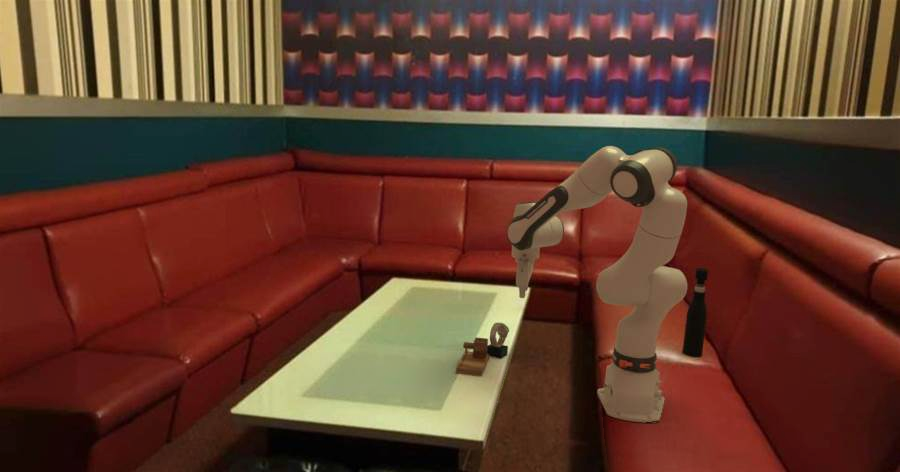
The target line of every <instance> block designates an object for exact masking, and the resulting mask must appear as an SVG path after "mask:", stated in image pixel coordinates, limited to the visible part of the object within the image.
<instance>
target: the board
mask: <svg viewBox="0 0 900 472" xmlns="http://www.w3.org/2000/svg"><path fill="white" fill-rule="evenodd" d="M489 360H490V356H489V354H487V356H486V359H478V358H473V351H468V350H467V353H465V351H464V352H463V354H462V356H461V358H460V360H459V361H458V363H457V365H456V367H455V368H456V370H455V373H456V374H460V375H466V376H475V377H476V376H477V377H482V376H483V375H484V372H485V370H486V368H487V365H488V362H489Z"/></svg>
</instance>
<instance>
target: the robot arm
mask: <svg viewBox="0 0 900 472" xmlns="http://www.w3.org/2000/svg"><path fill="white" fill-rule="evenodd" d="M677 171H678V162H677V159H676V157H675V155H674V154H673V153H672V152H671V150H668V149H666V148H663V147H651V148H646V149H640V150H636V151H635V152H634V153H633V154H631V155H628V154H626V153H625V152H624V151H623V150H622V149H621V148H619V147H617V146H613V145H606V146H604V147H601V148H600V149H599V150H596V152H594V153H593V154H591V156H589V157H588V158H587V159H586V160H585V161H584V162H583V163H582V164H581V165H580V166H579V167H578V168H577V169H576V170H575V171H574V172H573V173H572V174H570V175H569V177H567V178H566V179H564V181H563V182H561V183H560V184H558V185H557V186H555V187H554V188H553V189H552V190H550V191H549V192H547V193H546V194H545V195H544V196H543V197H542V198H540V199H539V200H537V201H523V202H519V203H517V204H516V205H515V208H514V211H513V218H512V219H511V221H510V222H509V224H508V225H507V226H508V227H507V230H506V236H507V239H508V242H509V243H510V245H511V257H512V258H514V259H515V260H514V261H515V262H516V263H517V264H516V274H515V285H516V286H517V287H518V291H519V292H518V293H519V294H518V295H519V298H520V299H525V298H526V292H527V291H528V289H529V283H530V280H531V277H532V274H533V272H534V271H533V270H534V264H535V263H536V260H537V259H539V258H540V250H541V249H540V248H544V247H545V248H546V247H551V246H556V245H559V244H560V243H561V242H562V241H563V238H564V234H565V227H564V223H563V221H562V220H561V219H560V218H559V217H558V216H559V215H560V214H563V213H566V212H570V211H574V210H579V209H586V208H591V207H594V206H595V205H597V204H599V203H600V202H602V201H603V200H604V199H606V197H608V196H609V195H610V194H611V193H612V192H613V193H614V194H615V195H616V196H617V198H619V199H620V200H623V201H624V202H627V203H629V204H631V205H632V206H633V207H635V208H642V211H641V215H640V218H639V222H638V225H637V228H636V231H635V234H634V238H633V240H632V242H631V244H630V246H629V248H628V249H627V251H626V252H625V253H624V254H623V255H622V256H621V257H620V258H619V259H618V260H617V261H616V262H615V263H613V264H612V265H610V266H608V267H607V268H604V269H603V270H601V272H600V273H599V274H598V277H597V279H596V285H595V287H596V288H595V289H596V291H597V295H598V297H599V298H600V299H601V301H602V302H603V303H605V304H609V305H612V306H613V305H614V306H620V307H627V306H628V307H629V306H630V307H633V306H634V309H633V310H632V311H631V312H630V313H629V314H627V315H625V316H624V317H622V318H621V319H620V320H619V321H618V324H617V328H616V329H617V330H616V338H615V339H616V340H615V347H614V348H613V351H612V362H611V363H609V365H607V366H606V368H605V369H606V370H605V376H604V377H605V379H604V385H603V386H604V387H602V388H598V389H597V392H596V393H597V396H598V399H599V400H600V402H601V405H602V407H603V408H604V411H605V413H606V415H607V416H610V417H612V418H615V419H618V420H623V421H629V422H637V423H646V422H652V421H659V420H660V421H661V419H660V417H661V418H662V415H661V413H662V414H663V410H662V409H664V406H665V402H666V401H665V400H666V399H665V397H664V396H662V395H663V390H662V389H659V386H660V387H661V385H662V380H660V374H661V373H660V371H659V370H658V369H657V361H658V359H657V358H658V357H657V353H656V351H657V343H658V336H659V332H660V328H661V325H662V323H663V320H664V319H665V318H666V316H667V314H668V313H669V312H670V311H671V309H673V307H675V306H676V305H677V304H679V303H680V302H681V301H683V299H684V298H685V296H686V295H687V291H688V281H687V279H686V276H685V275H684V273H683V272H682V271H681V270H680V269H677V268H674V267H668V266H664V265H666V264H667V263H669V262H670V261H671V260H672V259H673V258H674V256H675V254H676V250H677V247H678V244H679V241H680V239H681V235H682V233H683V229H684V226H685V222H686V216H687V210H688V200H687V197H686V195H685V194H684V192H682V191H680V190H679V189H677V188H676V187H672V186H671V185H670V182H672V180H673V179H674V177H675V176H676V173H677ZM664 401H665V402H664ZM663 405H664V406H663ZM660 421H659V422H660ZM652 423H653V422H652Z"/></svg>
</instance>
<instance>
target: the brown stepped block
mask: <svg viewBox="0 0 900 472" xmlns="http://www.w3.org/2000/svg"><path fill="white" fill-rule="evenodd" d="M488 345H489V338H486V337H485V338H484V337H476V336H475V338H474V340H473V342H469V341H467V342H466V341H464V342H463V345H462V346H463V347H462V348H463V349H465V350H464V352H465V353H467V351H468V349H469V350H473V351H472V352H473V358H478V359H486V356H487V347H488Z"/></svg>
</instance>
